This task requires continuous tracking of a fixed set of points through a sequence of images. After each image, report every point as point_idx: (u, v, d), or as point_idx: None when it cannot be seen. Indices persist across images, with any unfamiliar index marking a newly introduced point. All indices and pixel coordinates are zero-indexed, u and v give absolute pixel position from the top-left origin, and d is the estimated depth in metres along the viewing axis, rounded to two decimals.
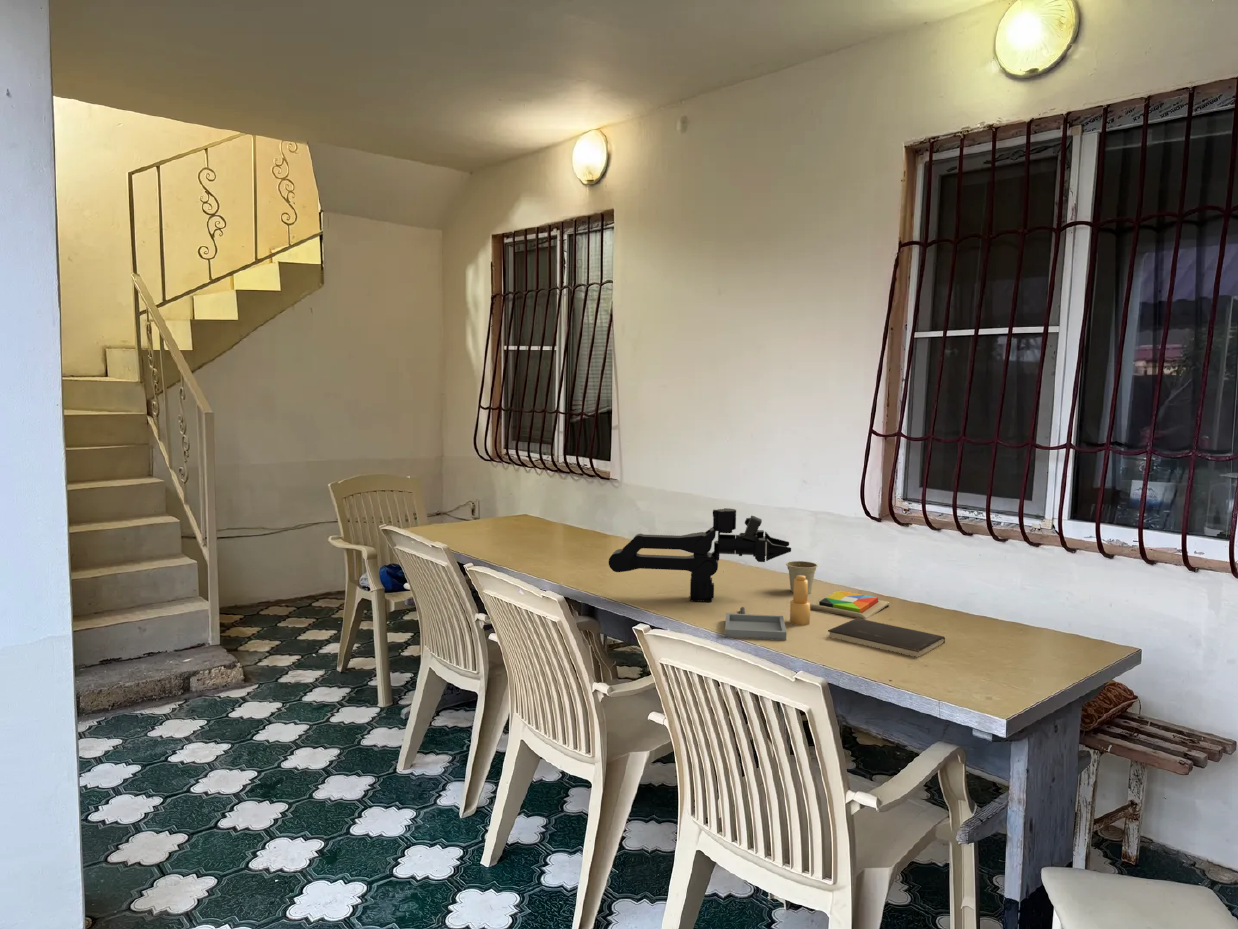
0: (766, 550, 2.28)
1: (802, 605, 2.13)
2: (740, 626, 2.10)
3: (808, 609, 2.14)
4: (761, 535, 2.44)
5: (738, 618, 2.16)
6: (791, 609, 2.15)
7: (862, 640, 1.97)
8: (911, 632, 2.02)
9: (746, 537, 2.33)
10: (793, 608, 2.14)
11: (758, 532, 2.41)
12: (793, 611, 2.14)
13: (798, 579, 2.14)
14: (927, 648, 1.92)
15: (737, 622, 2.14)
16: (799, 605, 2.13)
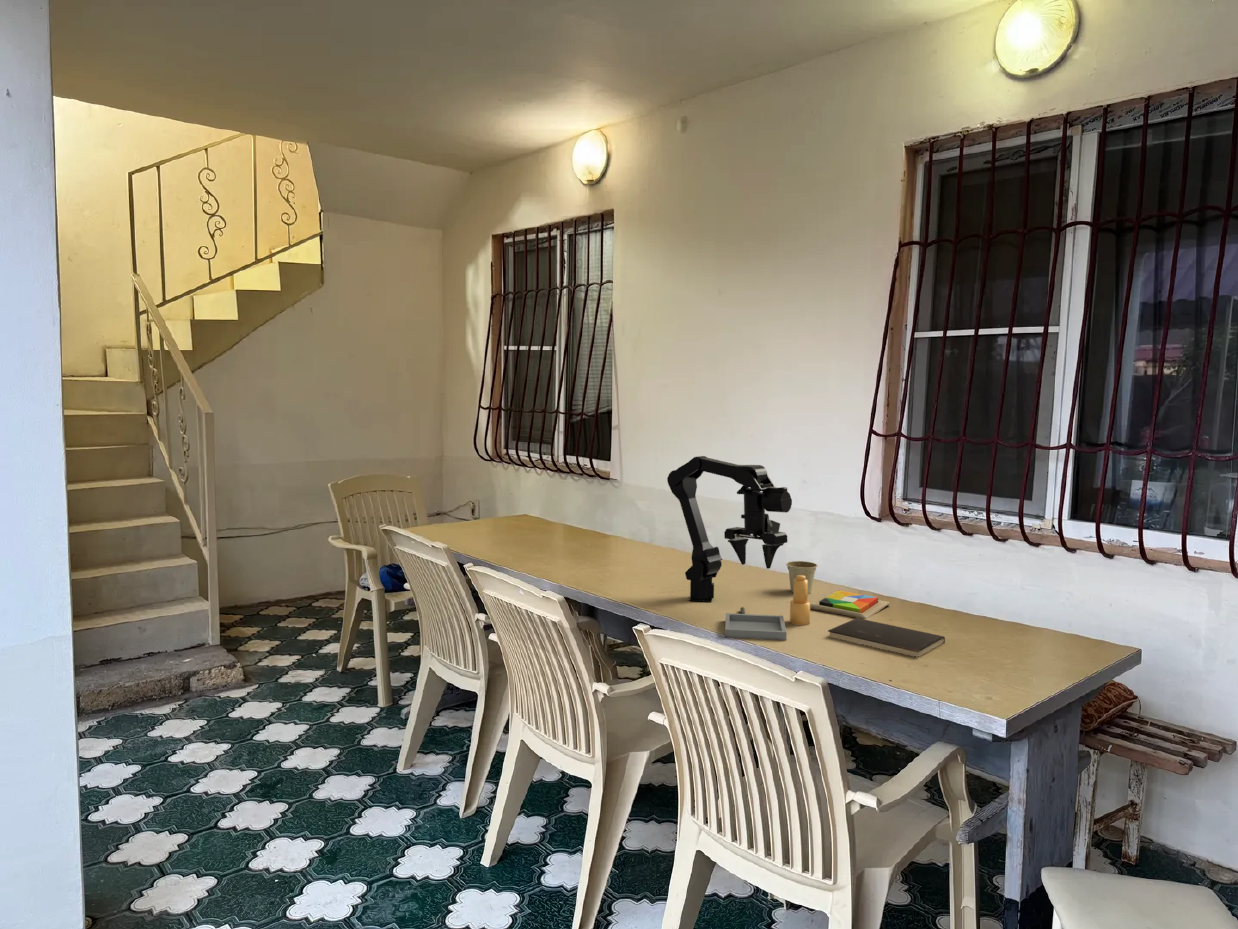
0: (777, 544, 2.20)
1: (802, 605, 2.13)
2: (740, 626, 2.10)
3: (808, 609, 2.14)
4: None
5: (738, 618, 2.16)
6: (791, 609, 2.15)
7: (862, 640, 1.97)
8: (911, 632, 2.02)
9: (768, 521, 2.25)
10: (793, 608, 2.14)
11: None
12: (792, 611, 2.14)
13: (798, 579, 2.14)
14: (927, 648, 1.92)
15: (737, 622, 2.14)
16: (799, 605, 2.13)
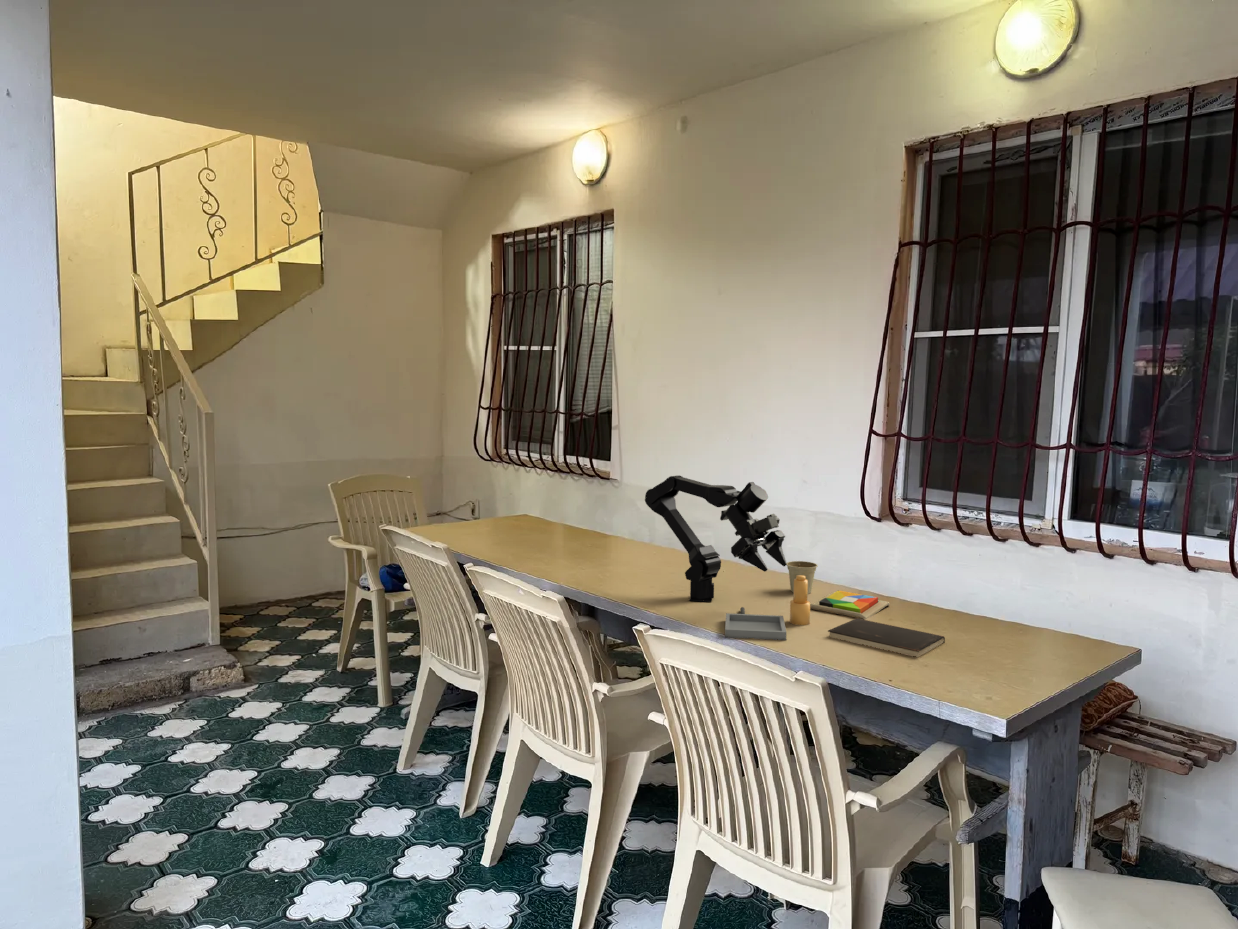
0: (744, 551, 2.18)
1: (802, 605, 2.13)
2: (740, 626, 2.10)
3: (808, 609, 2.14)
4: (780, 537, 2.29)
5: (738, 618, 2.16)
6: (791, 609, 2.15)
7: (862, 640, 1.97)
8: (911, 632, 2.02)
9: (749, 526, 2.22)
10: (793, 609, 2.14)
11: (774, 533, 2.26)
12: (793, 611, 2.14)
13: (798, 579, 2.14)
14: (927, 648, 1.92)
15: (737, 622, 2.14)
16: (799, 605, 2.13)
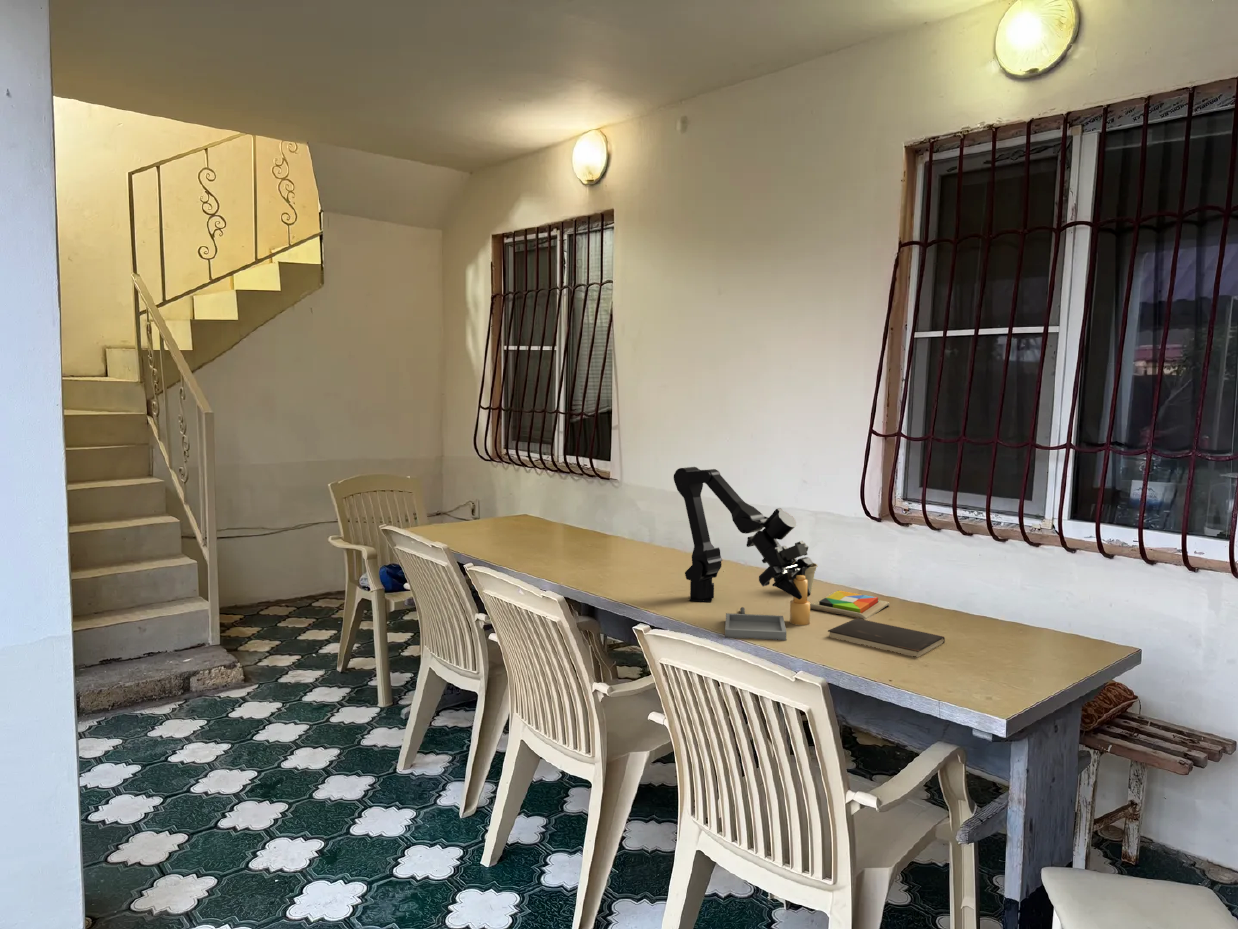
0: (778, 578, 2.14)
1: (802, 605, 2.13)
2: (740, 626, 2.10)
3: (808, 609, 2.14)
4: (808, 564, 2.23)
5: (738, 618, 2.16)
6: (791, 609, 2.15)
7: (862, 640, 1.97)
8: (911, 632, 2.02)
9: (777, 554, 2.16)
10: (793, 608, 2.14)
11: (803, 560, 2.20)
12: (793, 611, 2.14)
13: (798, 579, 2.14)
14: (927, 648, 1.92)
15: (737, 622, 2.14)
16: (799, 605, 2.13)
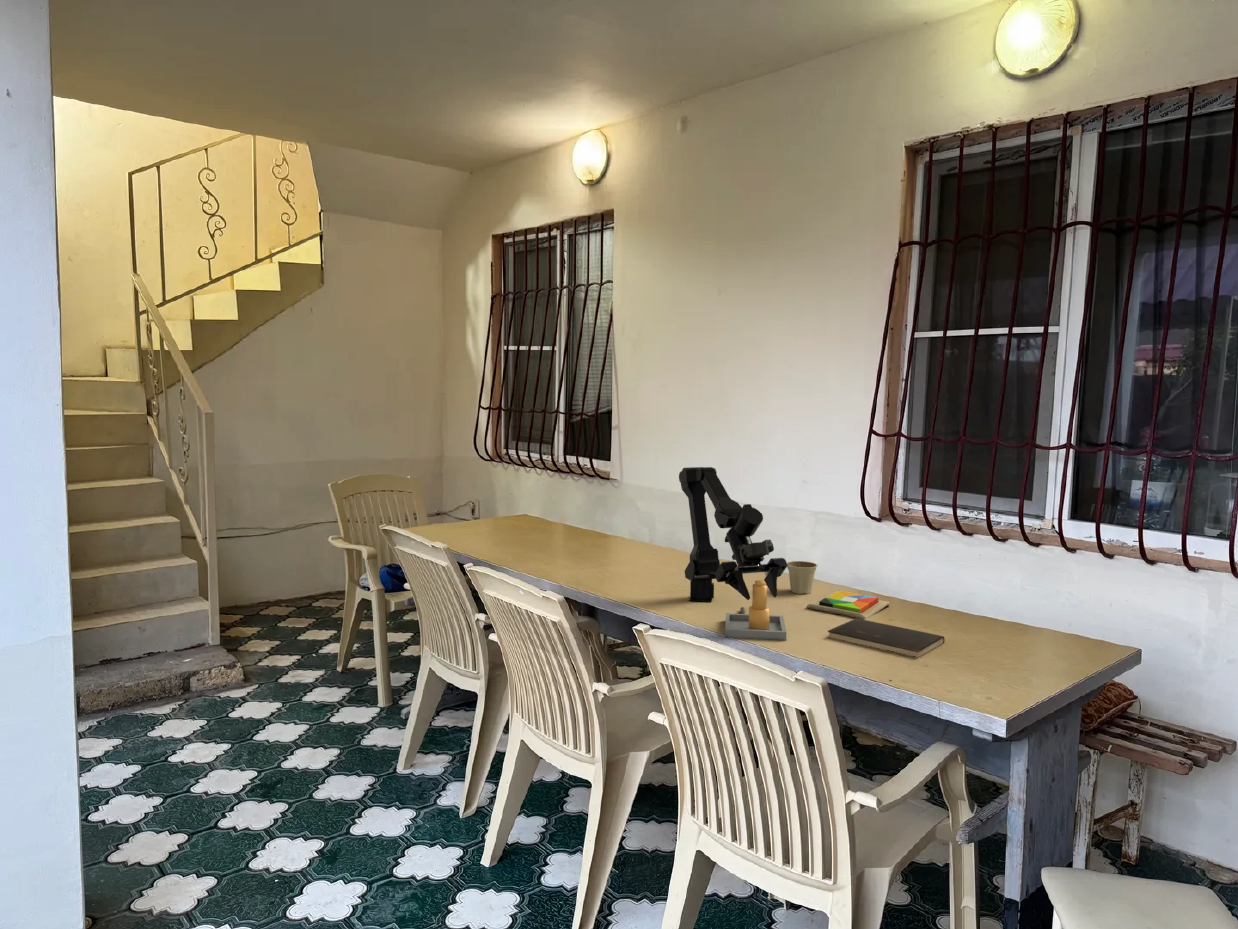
0: (728, 576, 2.07)
1: (756, 611, 2.05)
2: (740, 626, 2.10)
3: (764, 616, 2.05)
4: (783, 566, 2.12)
5: (738, 618, 2.16)
6: None
7: (862, 640, 1.97)
8: (911, 632, 2.02)
9: (740, 551, 2.10)
10: (749, 614, 2.07)
11: (773, 560, 2.11)
12: (749, 616, 2.07)
13: (755, 584, 2.06)
14: (927, 648, 1.92)
15: (737, 622, 2.14)
16: (753, 611, 2.05)
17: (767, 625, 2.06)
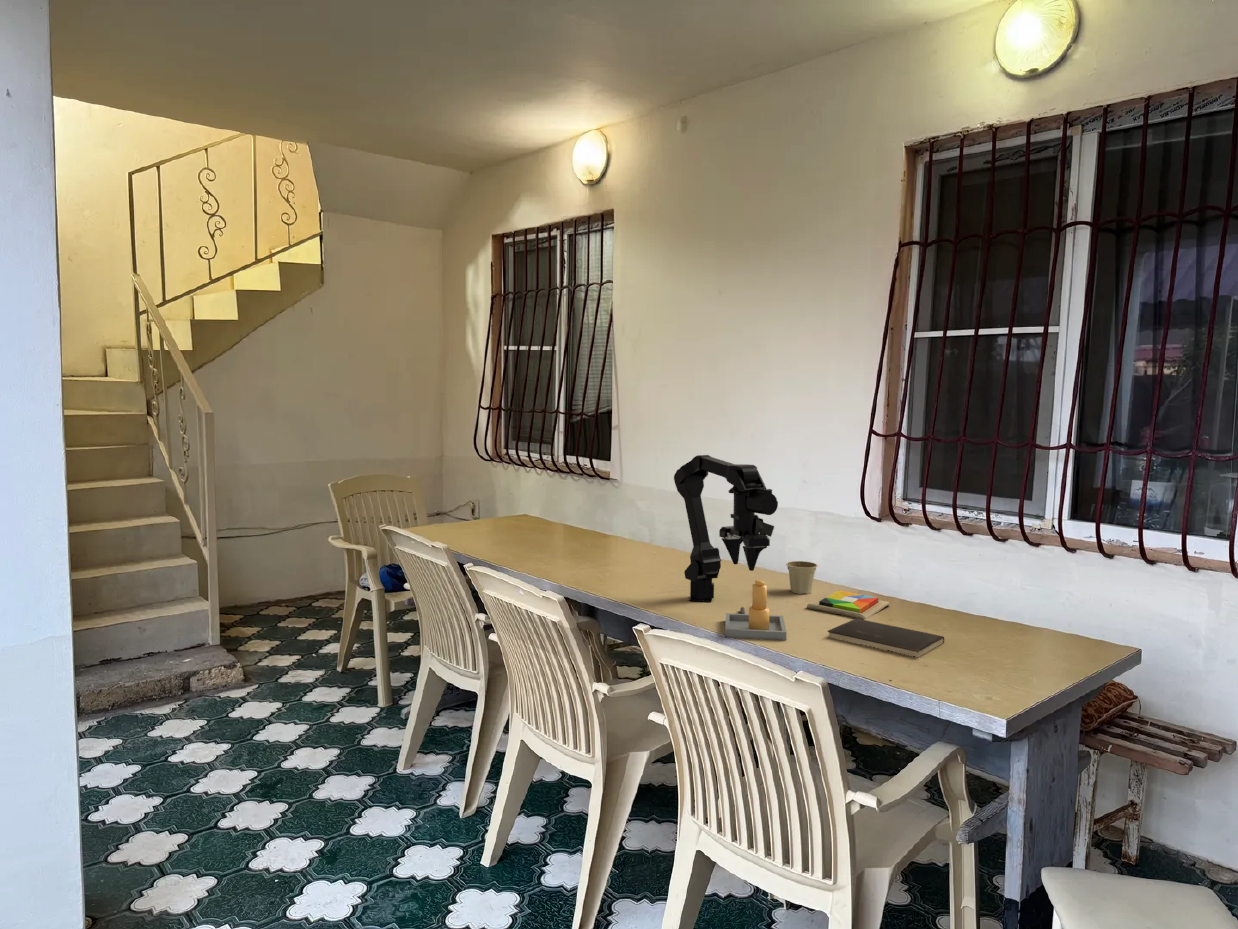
0: (758, 547, 2.15)
1: (756, 611, 2.05)
2: (740, 626, 2.10)
3: (764, 616, 2.05)
4: None
5: (738, 618, 2.16)
6: None
7: (862, 640, 1.97)
8: (910, 632, 2.02)
9: (757, 522, 2.20)
10: (749, 614, 2.07)
11: None
12: (749, 616, 2.07)
13: (755, 584, 2.06)
14: (927, 648, 1.92)
15: (737, 622, 2.14)
16: (753, 611, 2.05)
17: (767, 625, 2.06)
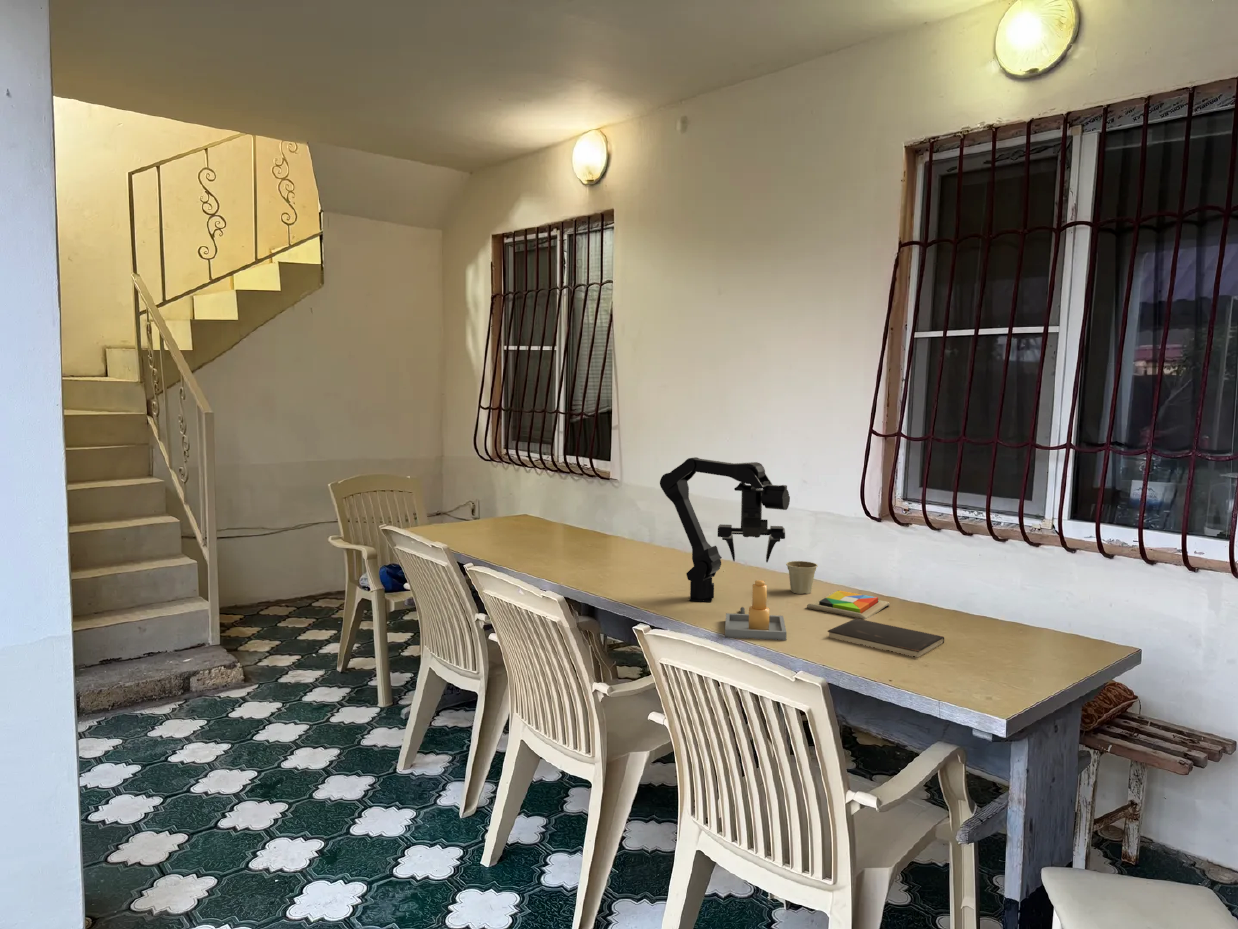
0: None
1: (756, 611, 2.05)
2: (740, 626, 2.10)
3: (764, 616, 2.05)
4: None
5: (738, 618, 2.16)
6: None
7: (862, 640, 1.97)
8: (910, 632, 2.02)
9: (741, 519, 2.27)
10: (749, 614, 2.07)
11: (770, 532, 2.26)
12: (749, 616, 2.07)
13: (755, 584, 2.06)
14: (927, 648, 1.92)
15: (737, 622, 2.14)
16: (753, 611, 2.05)
17: (767, 625, 2.06)
